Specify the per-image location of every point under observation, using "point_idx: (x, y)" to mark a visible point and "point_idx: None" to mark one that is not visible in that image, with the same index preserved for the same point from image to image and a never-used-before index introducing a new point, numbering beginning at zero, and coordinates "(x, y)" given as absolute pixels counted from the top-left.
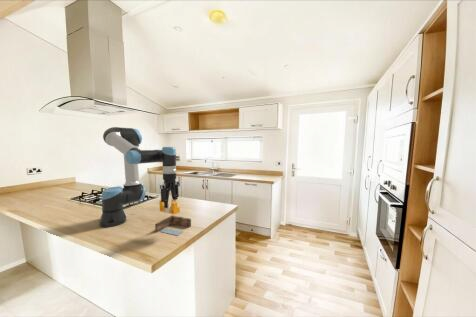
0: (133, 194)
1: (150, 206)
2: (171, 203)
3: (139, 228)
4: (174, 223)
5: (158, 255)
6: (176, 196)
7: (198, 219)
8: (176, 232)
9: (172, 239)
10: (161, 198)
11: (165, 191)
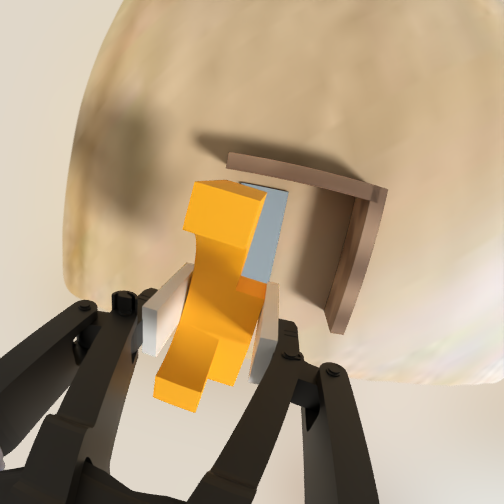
0: None
1: (484, 8)
2: (156, 374)
3: (255, 51)
4: (353, 211)
5: (92, 288)
6: (301, 403)
7: (415, 312)
8: (247, 277)
9: None
10: (55, 324)
11: (30, 426)
